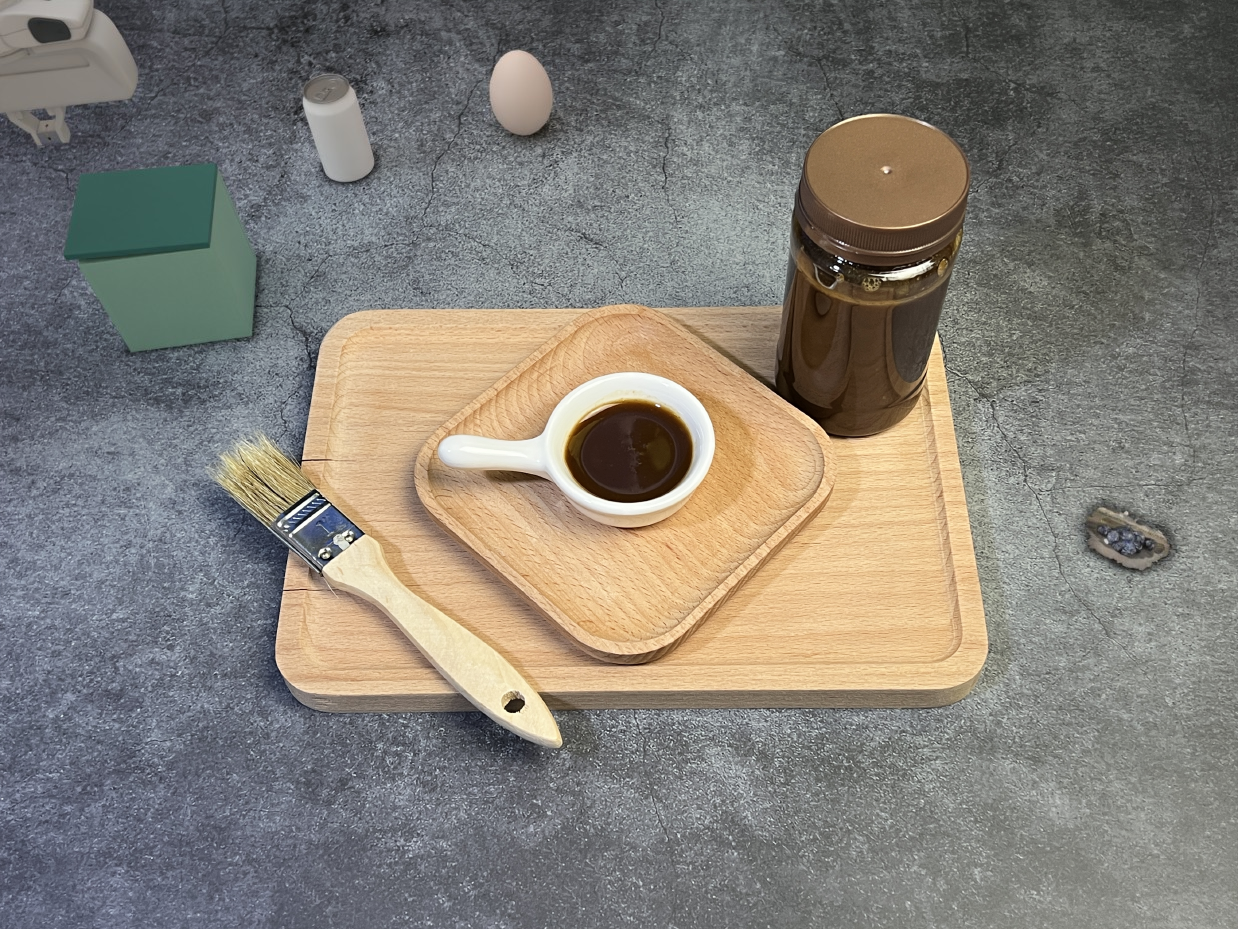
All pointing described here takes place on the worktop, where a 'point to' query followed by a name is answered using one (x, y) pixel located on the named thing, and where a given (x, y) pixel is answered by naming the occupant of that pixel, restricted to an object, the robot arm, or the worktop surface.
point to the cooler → (181, 287)
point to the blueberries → (1125, 538)
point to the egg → (520, 93)
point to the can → (337, 127)
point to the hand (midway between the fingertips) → (55, 140)
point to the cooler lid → (142, 211)
